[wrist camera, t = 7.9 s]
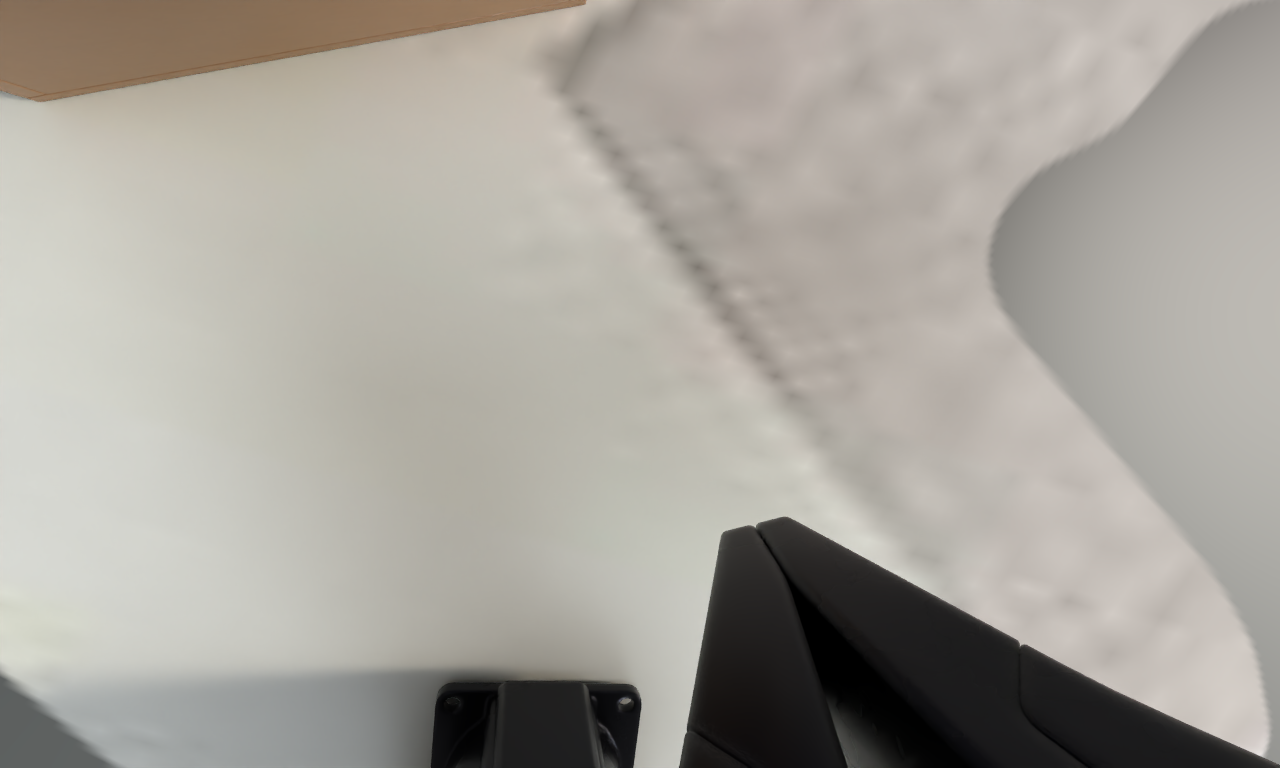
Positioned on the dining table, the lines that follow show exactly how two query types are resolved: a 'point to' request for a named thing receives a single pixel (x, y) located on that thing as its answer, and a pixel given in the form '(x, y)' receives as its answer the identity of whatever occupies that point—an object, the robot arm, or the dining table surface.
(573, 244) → the dining table surface
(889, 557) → the dining table surface
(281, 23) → the carton
